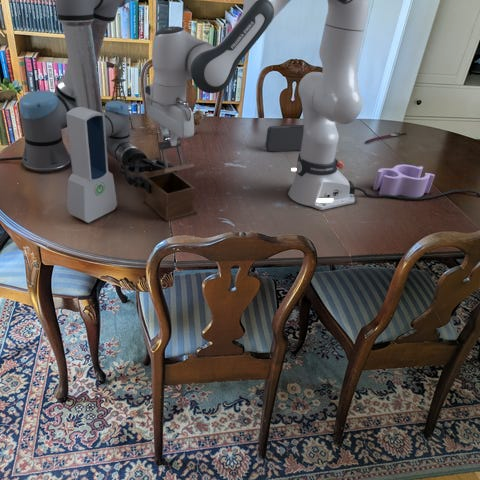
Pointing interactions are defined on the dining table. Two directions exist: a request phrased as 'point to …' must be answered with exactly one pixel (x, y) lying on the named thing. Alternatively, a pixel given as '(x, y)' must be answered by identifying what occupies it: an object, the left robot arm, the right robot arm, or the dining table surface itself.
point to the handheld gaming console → (284, 138)
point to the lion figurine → (197, 118)
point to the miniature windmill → (118, 81)
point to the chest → (170, 195)
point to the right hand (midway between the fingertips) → (169, 142)
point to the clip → (403, 181)
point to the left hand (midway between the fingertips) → (165, 185)
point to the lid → (163, 146)
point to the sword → (384, 137)
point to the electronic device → (89, 166)
